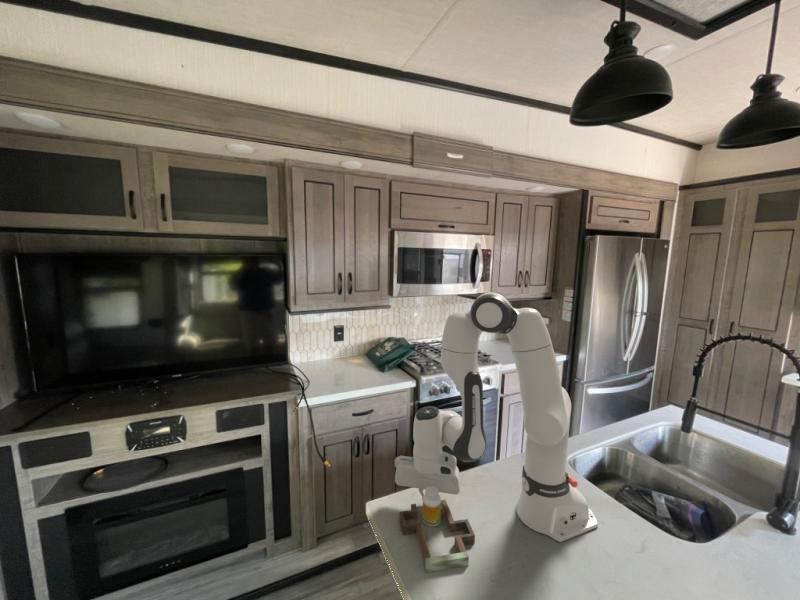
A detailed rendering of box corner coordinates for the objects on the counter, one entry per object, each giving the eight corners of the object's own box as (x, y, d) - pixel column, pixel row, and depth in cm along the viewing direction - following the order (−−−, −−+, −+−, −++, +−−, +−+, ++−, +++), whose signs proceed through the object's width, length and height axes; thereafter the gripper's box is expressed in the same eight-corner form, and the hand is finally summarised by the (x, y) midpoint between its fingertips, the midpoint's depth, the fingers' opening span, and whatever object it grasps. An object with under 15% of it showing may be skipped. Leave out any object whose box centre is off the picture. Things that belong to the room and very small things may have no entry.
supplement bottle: (440, 528, 95) (440, 498, 93) (421, 525, 96) (421, 495, 94) (441, 513, 100) (441, 485, 99) (423, 511, 101) (424, 482, 100)
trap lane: (457, 505, 103) (457, 498, 103) (483, 562, 84) (483, 554, 84) (398, 513, 100) (398, 506, 100) (410, 575, 81) (410, 566, 81)
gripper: (392, 461, 101) (392, 501, 103) (460, 471, 96) (458, 513, 98) (397, 449, 107) (397, 487, 109) (461, 458, 102) (460, 497, 104)
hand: (427, 499), depth 103 cm, fingers closed
